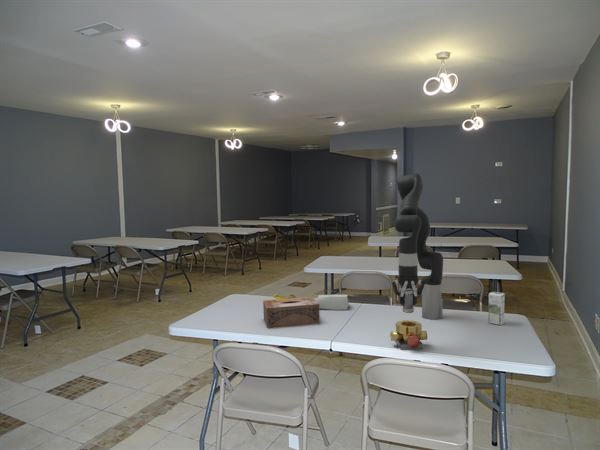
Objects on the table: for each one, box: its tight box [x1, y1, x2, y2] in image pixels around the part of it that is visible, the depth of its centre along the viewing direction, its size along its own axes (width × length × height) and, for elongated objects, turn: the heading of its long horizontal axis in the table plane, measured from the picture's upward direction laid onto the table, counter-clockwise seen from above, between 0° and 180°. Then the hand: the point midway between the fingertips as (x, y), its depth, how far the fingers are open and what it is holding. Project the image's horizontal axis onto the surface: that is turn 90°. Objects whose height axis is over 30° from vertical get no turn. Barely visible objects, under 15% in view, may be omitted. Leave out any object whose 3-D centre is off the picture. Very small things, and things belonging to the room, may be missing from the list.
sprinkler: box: [272, 293, 297, 300], centre depth 235 cm, size 22×6×20 cm
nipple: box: [402, 288, 415, 314], centre depth 169 cm, size 4×4×9 cm
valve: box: [389, 319, 428, 351], centre depth 169 cm, size 14×12×9 cm
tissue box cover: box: [262, 296, 321, 329], centre depth 205 cm, size 26×14×10 cm, turn 102°
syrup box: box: [487, 291, 506, 326], centre depth 195 cm, size 6×6×14 cm
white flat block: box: [313, 294, 350, 311], centre depth 235 cm, size 8×23×25 cm
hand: (408, 304), depth 169 cm, fingers closed on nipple, 4 cm apart
